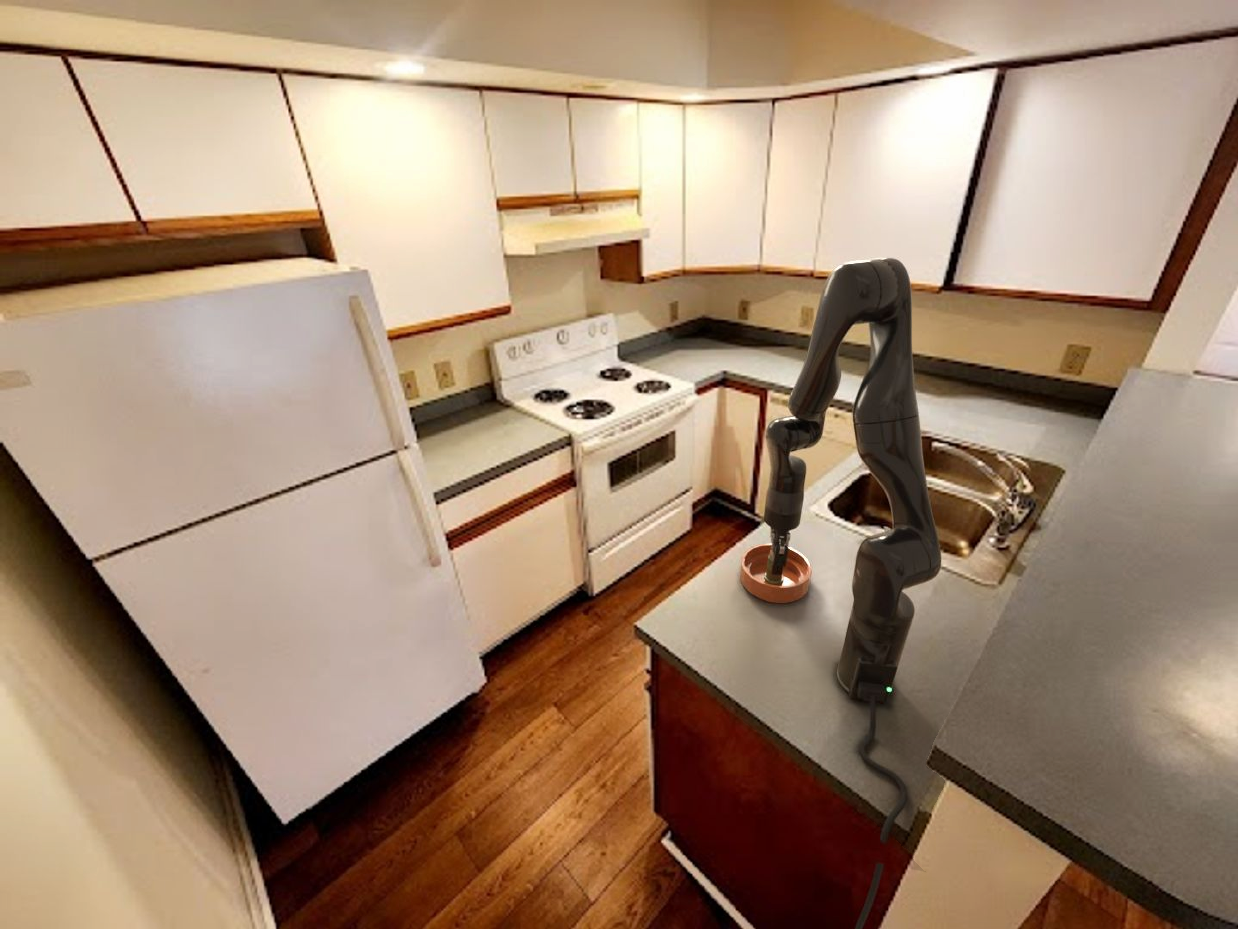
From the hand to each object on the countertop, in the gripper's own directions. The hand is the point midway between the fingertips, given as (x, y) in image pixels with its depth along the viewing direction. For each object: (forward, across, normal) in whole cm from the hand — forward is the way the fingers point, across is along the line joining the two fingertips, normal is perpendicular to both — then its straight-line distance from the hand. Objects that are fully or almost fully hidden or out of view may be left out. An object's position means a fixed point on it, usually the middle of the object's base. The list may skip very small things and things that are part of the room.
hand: (775, 565), depth 121 cm
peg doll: (+4, 0, 0) cm, 4 cm away
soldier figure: (+5, -15, +25) cm, 30 cm away
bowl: (+5, 0, 0) cm, 5 cm away
